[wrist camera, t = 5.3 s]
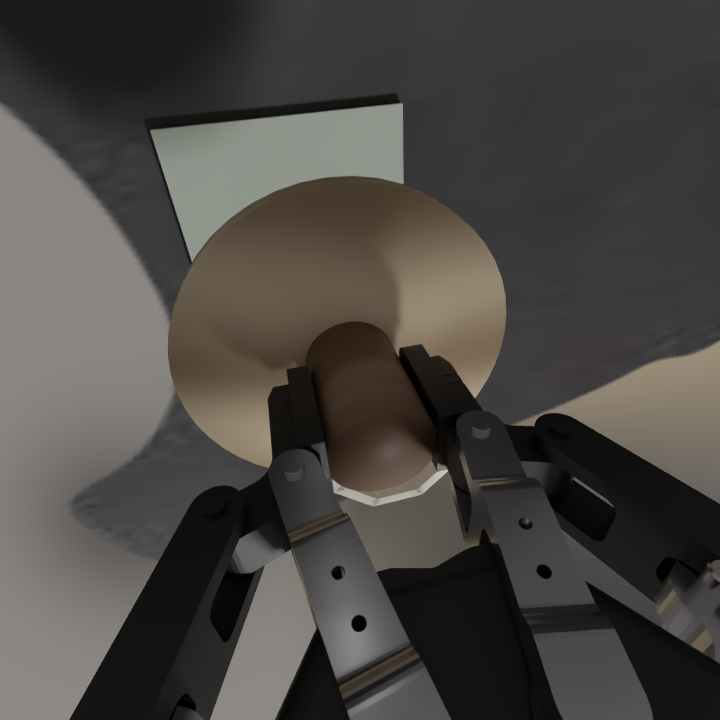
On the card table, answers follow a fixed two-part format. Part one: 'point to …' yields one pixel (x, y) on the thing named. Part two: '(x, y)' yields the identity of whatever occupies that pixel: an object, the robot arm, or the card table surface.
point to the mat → (271, 159)
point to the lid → (335, 320)
